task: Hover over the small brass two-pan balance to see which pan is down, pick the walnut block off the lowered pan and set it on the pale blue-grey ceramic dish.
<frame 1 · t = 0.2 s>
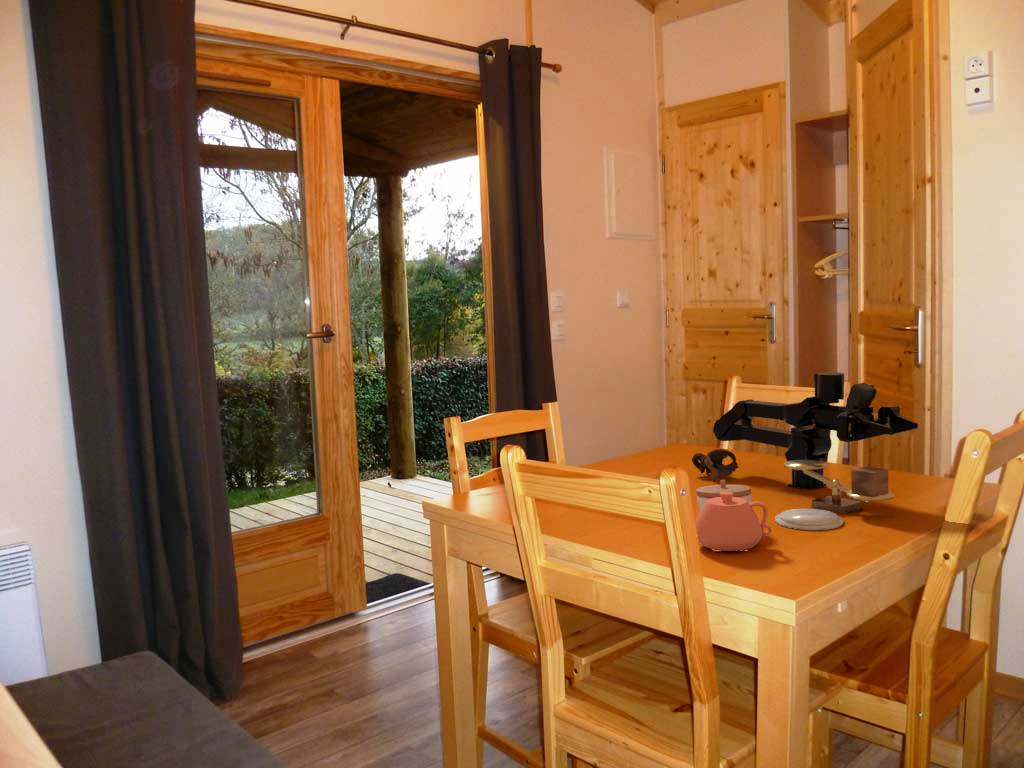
hand: (904, 428, 179), 17 cm above the table, tool horizontal, fingers open, 9 cm apart
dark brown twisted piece: (715, 477, 218), on the table
dish: (808, 521, 172), on the table
block: (869, 493, 174), point 4 cm above the table, touching balance
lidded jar: (725, 527, 170), on the table
balance: (836, 507, 181), on the table
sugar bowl: (733, 547, 158), on the table
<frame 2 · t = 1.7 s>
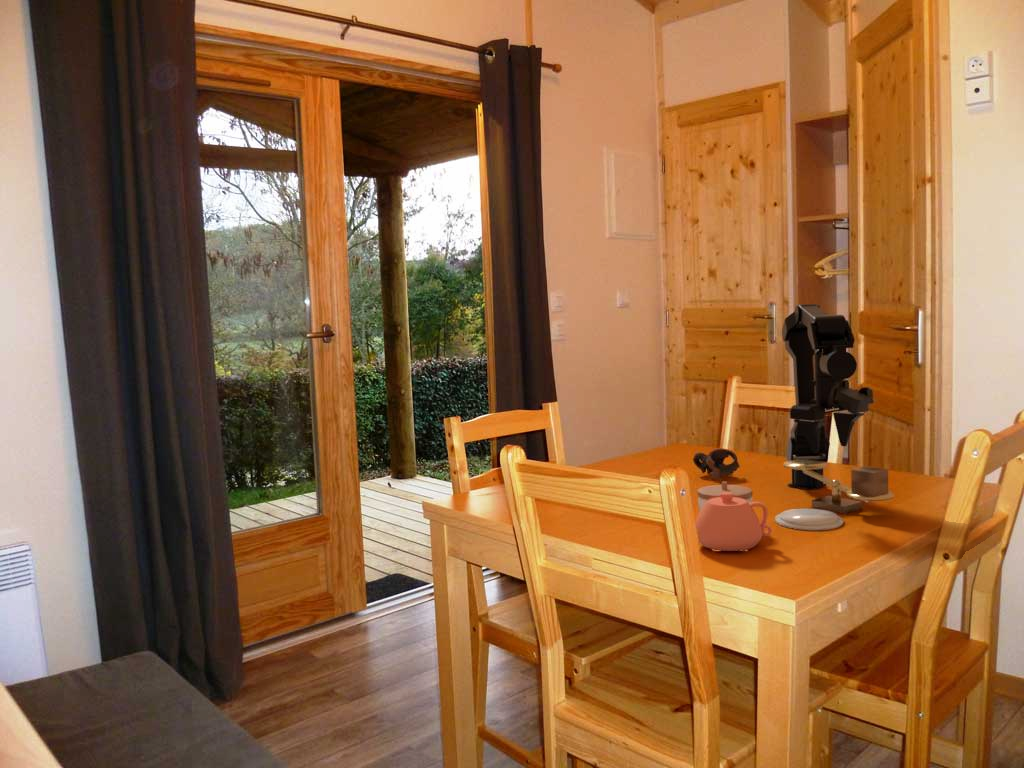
hand: (830, 449, 179), 13 cm above the table, tool pointing down, fingers open, 9 cm apart
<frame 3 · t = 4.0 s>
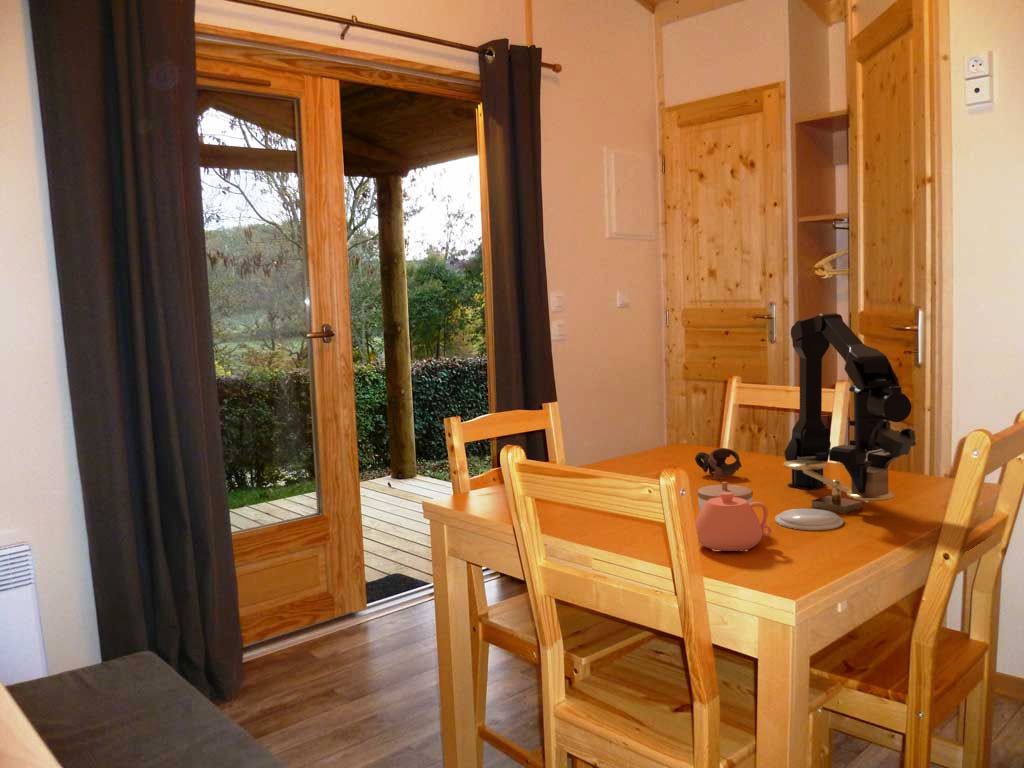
hand: (869, 490, 174), 5 cm above the table, tool pointing down, fingers closed on block, 5 cm apart
block: (869, 493, 174), point 5 cm above the table, touching balance, gripper
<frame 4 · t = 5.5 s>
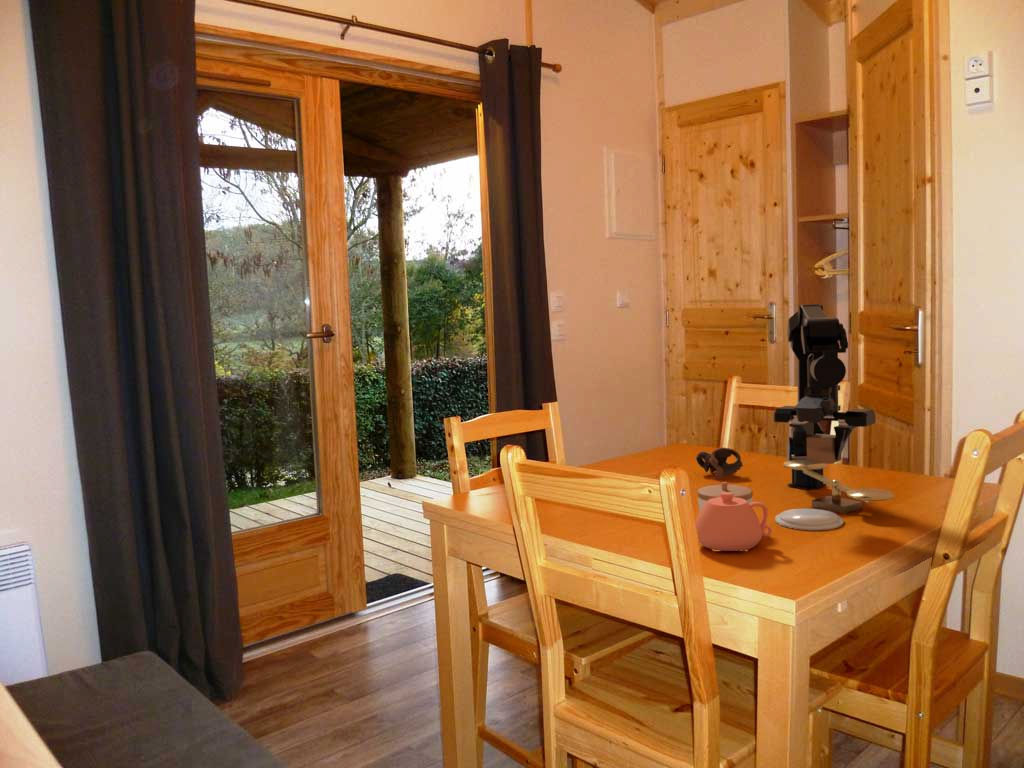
hand: (824, 458, 171), 13 cm above the table, tool pointing down, fingers closed on block, 5 cm apart
block: (824, 460, 171), point 12 cm above the table, touching gripper
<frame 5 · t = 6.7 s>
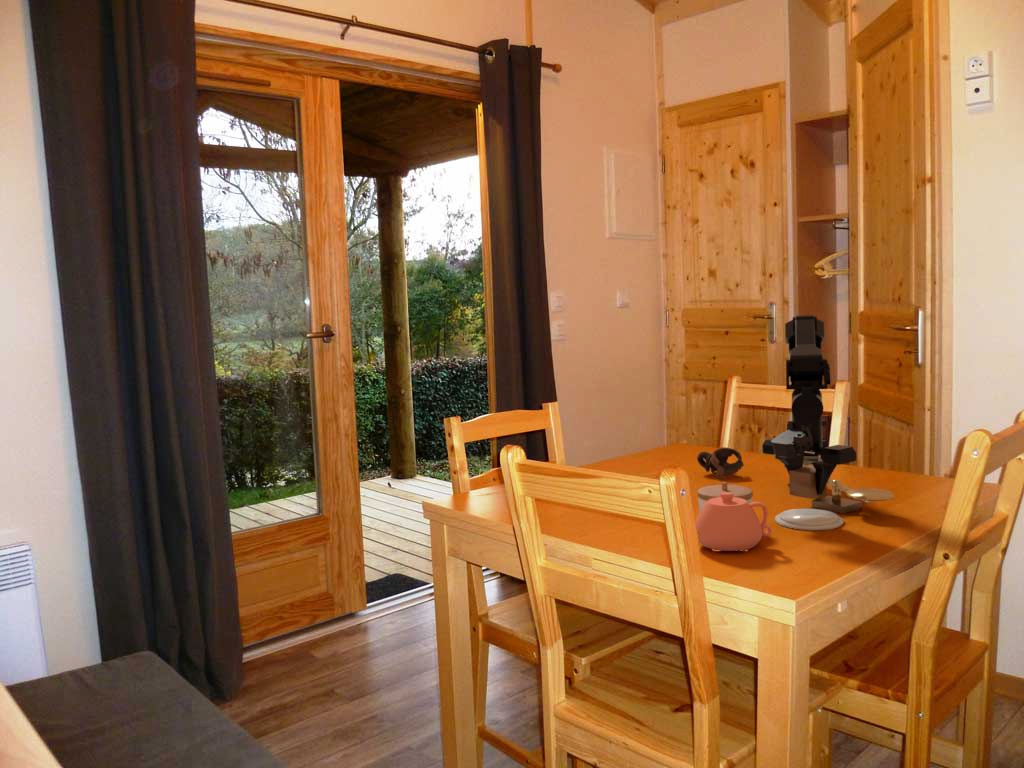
hand: (808, 492, 171), 6 cm above the table, tool pointing down, fingers closed on block, 5 cm apart
block: (808, 494, 171), point 6 cm above the table, touching gripper
when the fingers open (3 cm above the table, at t = 7.5 s): block drops 1 cm, resting on dish.
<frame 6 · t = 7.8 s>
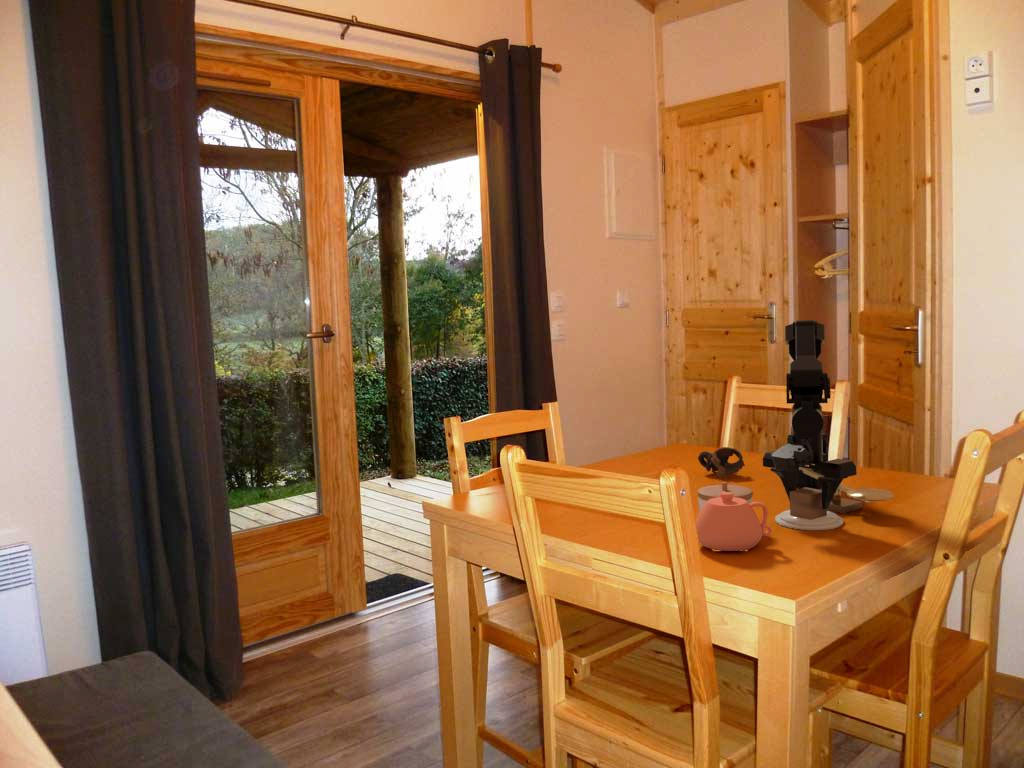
hand: (808, 505, 171), 3 cm above the table, tool pointing down, fingers open, 8 cm apart
block: (808, 515, 172), point 1 cm above the table, touching dish
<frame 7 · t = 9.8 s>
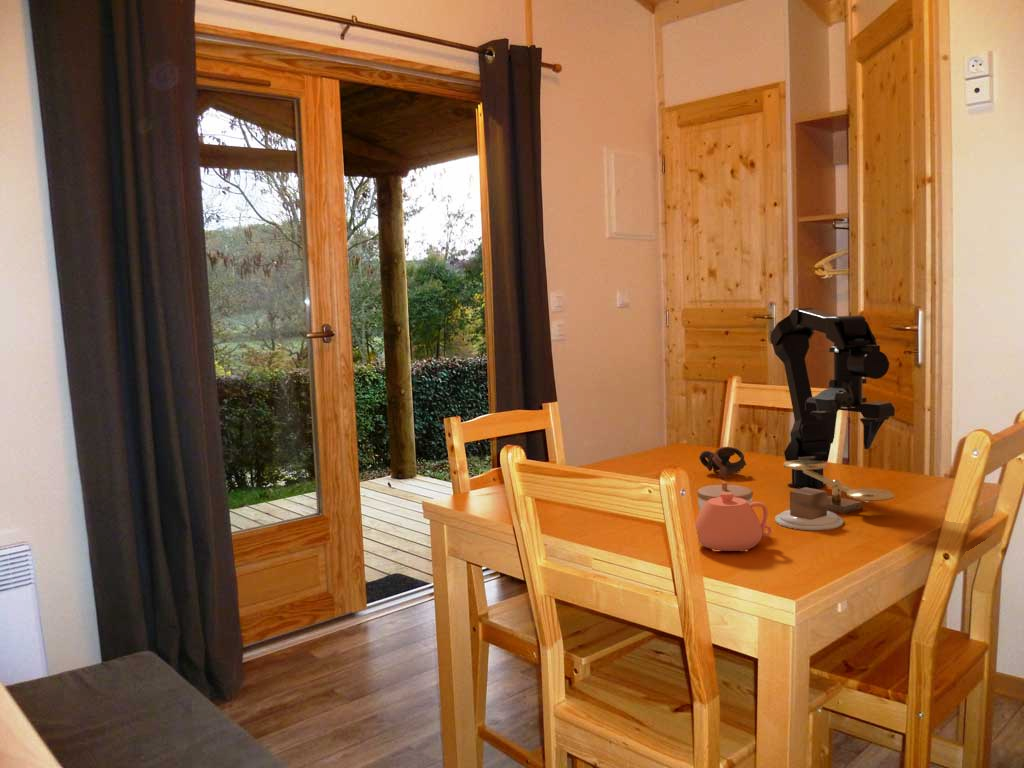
hand: (848, 446, 183), 13 cm above the table, tool pointing down, fingers open, 9 cm apart
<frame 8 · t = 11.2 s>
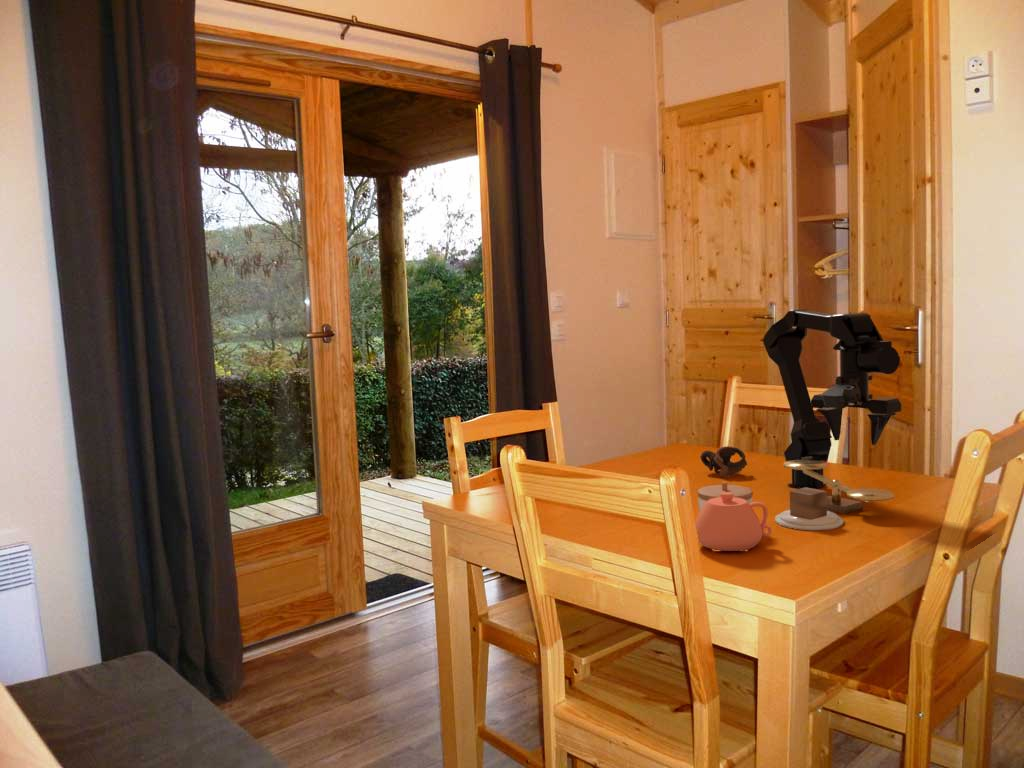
hand: (855, 442, 185), 13 cm above the table, tool pointing down, fingers open, 9 cm apart
at the end: block inside the target area on the dish (0.0 cm from its centre), point 1.3 cm above the dish's base; the gripper is holding nothing; block tilted 0° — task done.
